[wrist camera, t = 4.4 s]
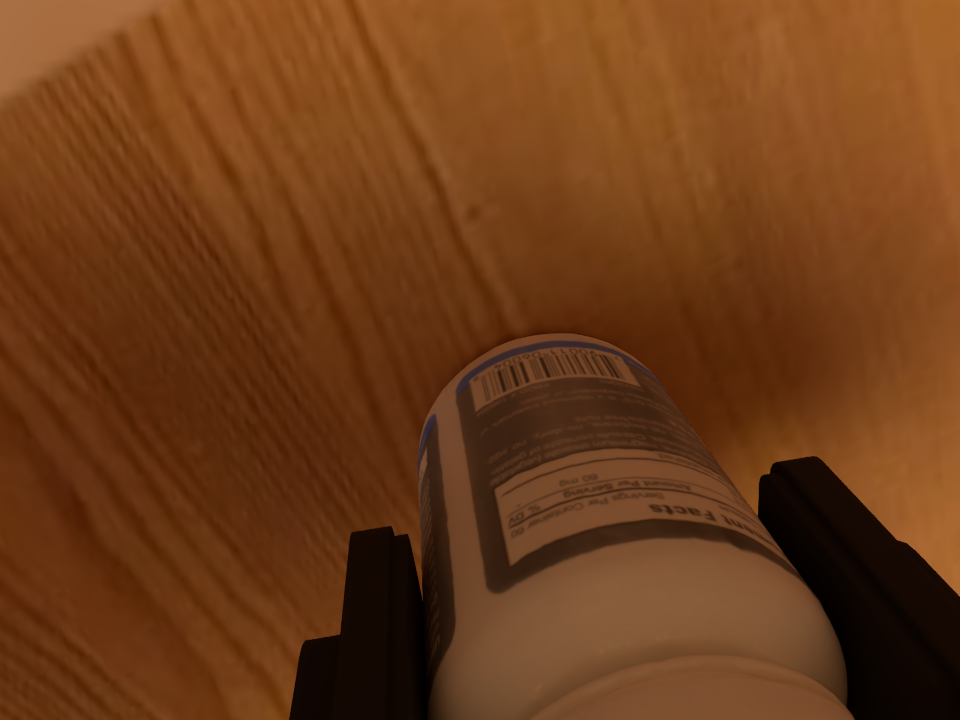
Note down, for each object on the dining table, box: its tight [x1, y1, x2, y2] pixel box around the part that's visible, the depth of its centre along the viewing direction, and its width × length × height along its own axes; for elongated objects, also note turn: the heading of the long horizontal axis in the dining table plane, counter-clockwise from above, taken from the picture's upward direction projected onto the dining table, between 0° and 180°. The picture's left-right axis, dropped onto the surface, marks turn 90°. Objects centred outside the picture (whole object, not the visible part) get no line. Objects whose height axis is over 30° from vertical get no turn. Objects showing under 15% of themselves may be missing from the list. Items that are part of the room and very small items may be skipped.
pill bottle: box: [418, 333, 855, 720], centre depth 10 cm, size 5×5×8 cm
